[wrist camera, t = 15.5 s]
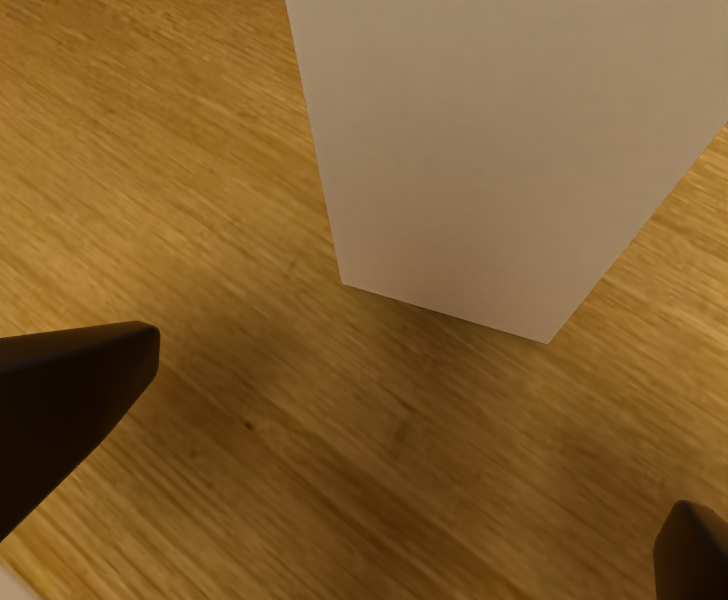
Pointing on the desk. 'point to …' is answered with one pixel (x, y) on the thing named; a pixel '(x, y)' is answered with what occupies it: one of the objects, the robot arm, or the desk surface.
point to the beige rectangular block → (503, 141)
